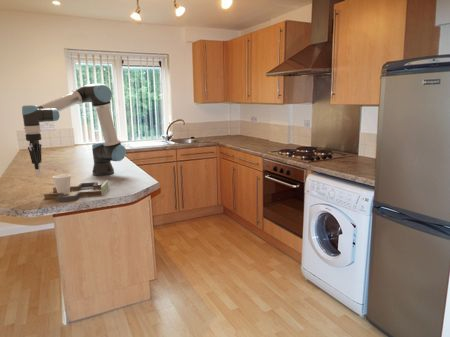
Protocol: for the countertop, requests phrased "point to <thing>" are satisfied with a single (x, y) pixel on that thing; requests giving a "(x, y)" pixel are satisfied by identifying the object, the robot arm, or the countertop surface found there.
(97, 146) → the robot arm
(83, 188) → the trap bays
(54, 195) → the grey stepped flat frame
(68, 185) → the cup
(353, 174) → the countertop surface
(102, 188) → the stop block
